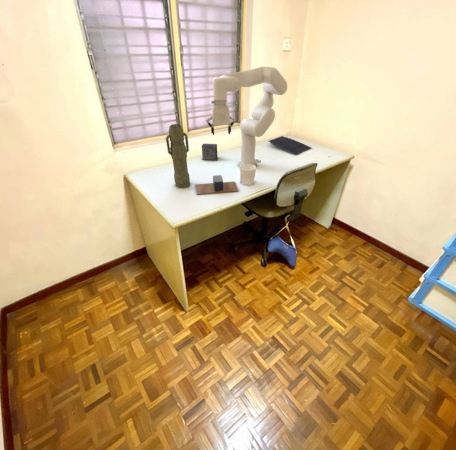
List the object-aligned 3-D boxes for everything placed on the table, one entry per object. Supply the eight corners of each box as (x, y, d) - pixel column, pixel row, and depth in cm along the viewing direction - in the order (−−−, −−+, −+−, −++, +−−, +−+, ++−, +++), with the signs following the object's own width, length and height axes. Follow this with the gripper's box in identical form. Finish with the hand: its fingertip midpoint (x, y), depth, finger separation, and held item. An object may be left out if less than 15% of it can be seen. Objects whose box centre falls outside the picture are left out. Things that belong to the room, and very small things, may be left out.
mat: (234, 182, 157) (234, 181, 157) (238, 191, 147) (238, 190, 147) (196, 185, 153) (195, 184, 153) (197, 194, 144) (197, 193, 143)
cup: (254, 186, 153) (255, 171, 147) (238, 185, 154) (238, 170, 148) (256, 179, 161) (257, 164, 155) (240, 178, 162) (241, 163, 156)
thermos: (170, 184, 153) (161, 125, 133) (187, 179, 159) (181, 121, 139) (177, 190, 148) (168, 129, 127) (194, 184, 154) (189, 125, 133)
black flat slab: (282, 138, 226) (283, 134, 223) (311, 150, 211) (312, 146, 209) (265, 144, 212) (266, 140, 209) (295, 158, 197) (296, 154, 195)
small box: (217, 157, 191) (217, 143, 185) (216, 160, 185) (215, 146, 179) (204, 156, 191) (203, 143, 185) (202, 159, 186) (201, 145, 180)
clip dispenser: (221, 184, 154) (221, 175, 150) (223, 190, 147) (223, 180, 144) (213, 184, 153) (212, 175, 149) (214, 190, 146) (214, 181, 143)
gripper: (205, 104, 136) (207, 136, 146) (236, 103, 139) (236, 135, 149) (204, 102, 142) (206, 132, 152) (234, 101, 145) (234, 131, 155)
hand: (221, 134), depth 151 cm, fingers open, 9 cm apart
